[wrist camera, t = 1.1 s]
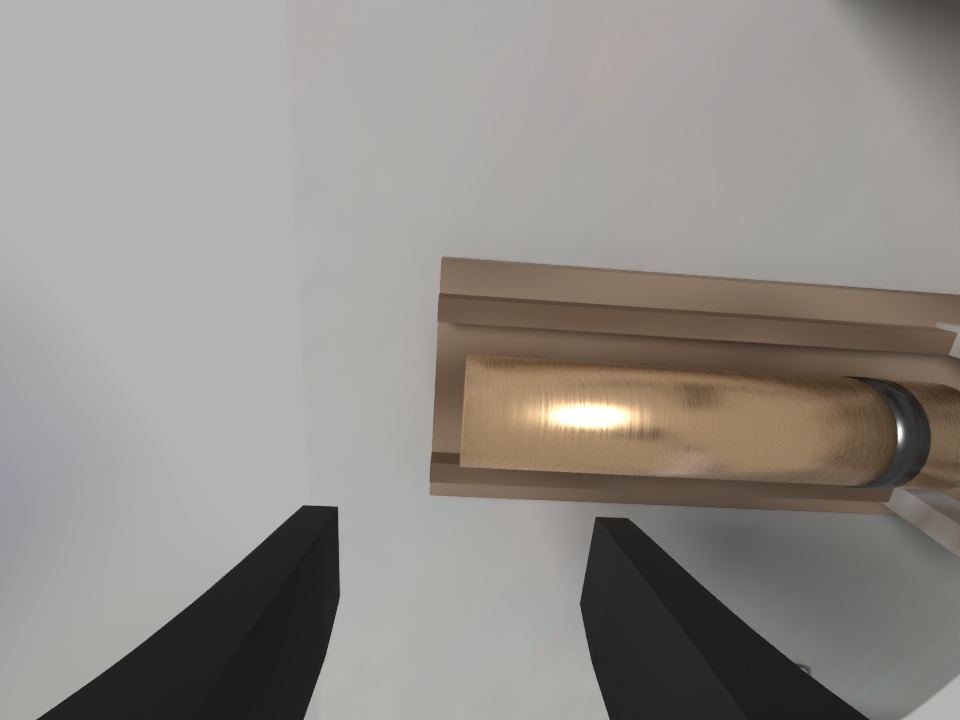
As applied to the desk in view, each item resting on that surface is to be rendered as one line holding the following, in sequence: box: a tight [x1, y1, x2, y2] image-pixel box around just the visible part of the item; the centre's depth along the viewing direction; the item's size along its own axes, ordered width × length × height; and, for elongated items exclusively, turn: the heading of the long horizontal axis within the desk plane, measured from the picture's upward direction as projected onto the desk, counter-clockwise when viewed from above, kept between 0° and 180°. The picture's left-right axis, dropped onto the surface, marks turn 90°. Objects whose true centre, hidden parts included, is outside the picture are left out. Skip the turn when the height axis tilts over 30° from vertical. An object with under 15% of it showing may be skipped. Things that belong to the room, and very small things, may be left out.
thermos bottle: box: [460, 354, 960, 490], centre depth 15 cm, size 16×4×4 cm, turn 86°
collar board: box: [430, 257, 960, 557], centre depth 15 cm, size 9×26×6 cm, turn 86°
